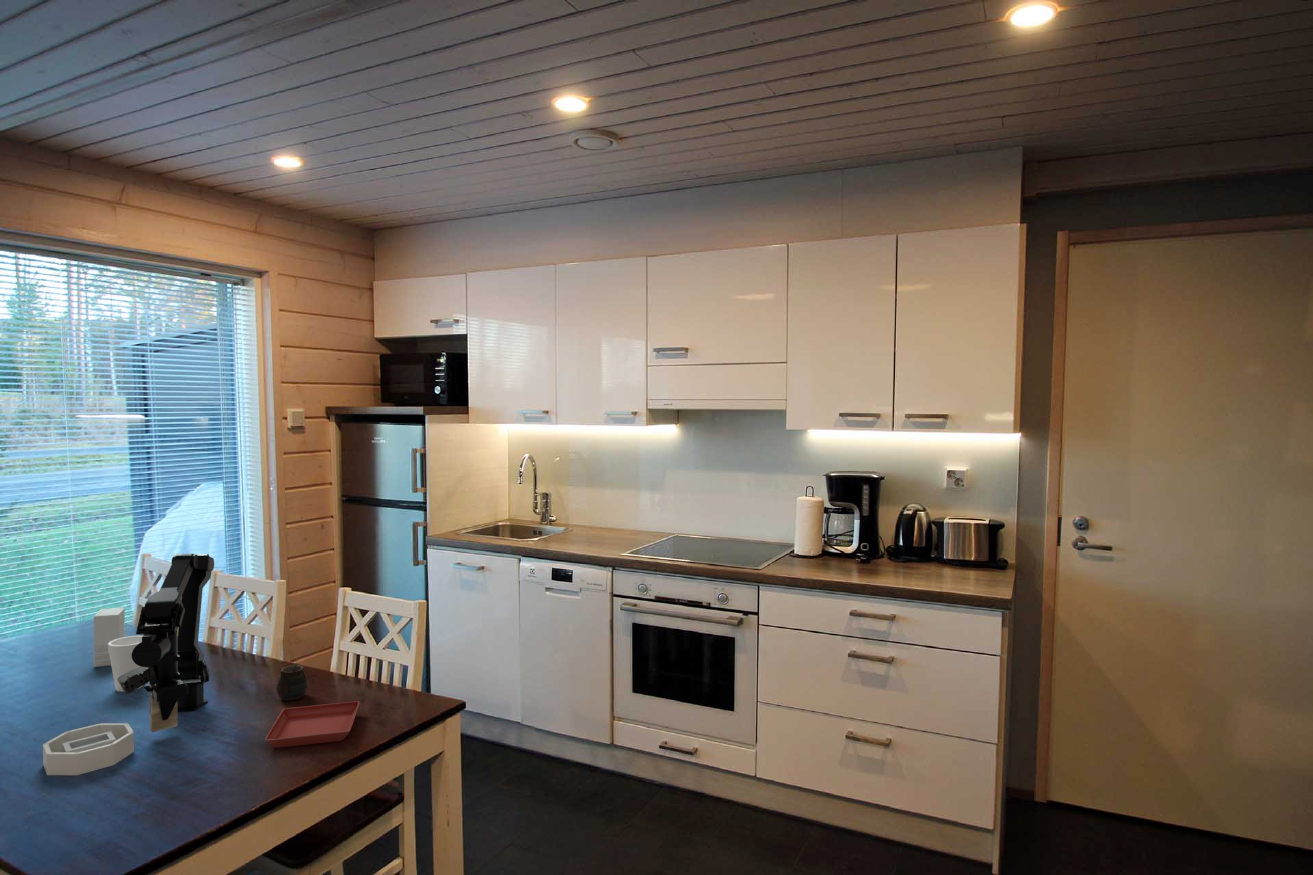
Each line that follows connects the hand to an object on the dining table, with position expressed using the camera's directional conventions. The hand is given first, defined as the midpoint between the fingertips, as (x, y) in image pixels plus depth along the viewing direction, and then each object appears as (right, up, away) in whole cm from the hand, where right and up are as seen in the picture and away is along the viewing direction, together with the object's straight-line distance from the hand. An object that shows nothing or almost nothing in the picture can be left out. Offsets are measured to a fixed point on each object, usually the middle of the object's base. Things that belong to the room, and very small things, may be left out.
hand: (163, 717), depth 169 cm
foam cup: (-30, -3, +30) cm, 42 cm away
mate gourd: (+19, -4, +24) cm, 30 cm away
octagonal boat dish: (-9, -5, -11) cm, 15 cm away
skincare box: (-50, -2, +49) cm, 70 cm away
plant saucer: (+34, -5, +4) cm, 34 cm away
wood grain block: (0, -2, 0) cm, 2 cm away
